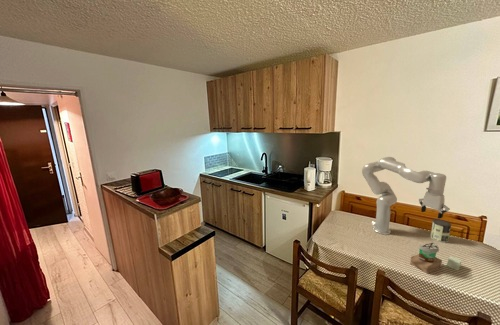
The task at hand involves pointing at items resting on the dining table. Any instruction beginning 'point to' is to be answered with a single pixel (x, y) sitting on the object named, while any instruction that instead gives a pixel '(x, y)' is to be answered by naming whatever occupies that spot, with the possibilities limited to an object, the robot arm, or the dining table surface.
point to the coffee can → (440, 230)
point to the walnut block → (425, 264)
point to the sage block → (454, 263)
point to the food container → (428, 252)
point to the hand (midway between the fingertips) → (431, 214)
